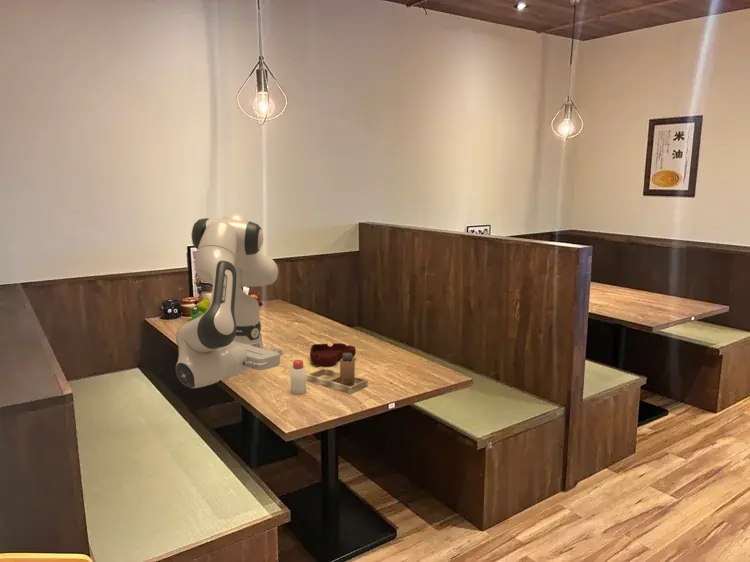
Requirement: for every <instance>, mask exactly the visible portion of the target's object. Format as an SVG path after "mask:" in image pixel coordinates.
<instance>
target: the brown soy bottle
mask: <svg viewBox="0 0 750 562" xmlns="http://www.w3.org/2000/svg"><path fill="white" fill-rule="evenodd" d="M339 372H340V384H343V385H346V386H353V385H355V377H356V360H355V358H354V357H353V358H352V353H343V358H342V359H340V361H339Z"/></svg>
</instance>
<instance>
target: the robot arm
mask: <svg viewBox="0 0 750 562" xmlns="http://www.w3.org/2000/svg"><path fill="white" fill-rule="evenodd" d="M190 235H191V242H192V245H193V247H194V248H195V249H197V252H196V255H195V258H194V271H195V274H197V275H196V276H198V278H200V280H202V281H203V282H206V283H208V284H209V285H212V288H211V298H210V305H209V306H210V307H209V308H208V310H207V311H206V312H205V313H204V314H203V315H201V316H200V317H198V318H196V319H191V320H190V321H188V322H186V323H184V324H182V325H181V326H180V327H179V328H178V330H177V332H176V335H175V336H176V337H175V339H176V343H177V346H178V359H177V362H176V365H175V374H176V377H177V379H178V381H179V382H180V383H181V384H182V385H184V386H185V387H187V388H188V389H197V388H203V387H207V386H210V385H214V384H216V383H218V382H219V381H221V380H228V379H230V378H233V377H237V376H239V375H242V374H244V373H245V372H246V370H247V368H249V369H252V370H256V371H264V370H268V369H269V370H270V369H272V368H276V367H279V366H280V363H281V356H283V350H282V349H280V348H275V349H273V351H272V350H269V349H265V348H264V343H263V337H262V333H261V331H262V328H261V327H262V324H261V321H260V304H259V302H258V300H257V299H256V298H255V297H253V296H252V295H250V294H248V293H245V292H244V291H243V289H242V288H243V287H244V288H245V287H247V288H251V287H264V286H268V285H270V286H271V285H273V284H274V283H275V282H276V281H277V279H278V275H279V267H278V265H277V263H276V262H275V260H273V258H270V257H267V256H265V255H264V254H262V253H260V250H261V248H262V246H263V243H264V233H263V230H262V227H261V226H260V225H259V224H258V223H256V222H252V221H248V219H247V218H246V216H244V215H243V214H242V213H238V212H230V213H227V214H226V215H224V216H222V218H207V217H206V218H200V219H198V220H197V221H196V222H194V224H193V227H192V229H191V233H190Z"/></svg>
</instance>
